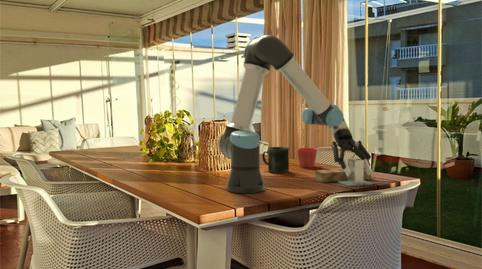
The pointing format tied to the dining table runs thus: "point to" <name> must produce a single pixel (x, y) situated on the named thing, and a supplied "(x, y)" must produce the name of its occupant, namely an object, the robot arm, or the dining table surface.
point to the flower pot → (306, 157)
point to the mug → (277, 159)
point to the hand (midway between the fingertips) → (359, 173)
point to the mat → (354, 184)
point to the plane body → (335, 175)
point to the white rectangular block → (356, 170)
